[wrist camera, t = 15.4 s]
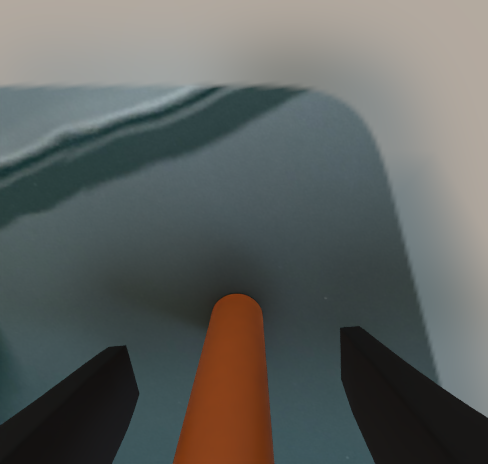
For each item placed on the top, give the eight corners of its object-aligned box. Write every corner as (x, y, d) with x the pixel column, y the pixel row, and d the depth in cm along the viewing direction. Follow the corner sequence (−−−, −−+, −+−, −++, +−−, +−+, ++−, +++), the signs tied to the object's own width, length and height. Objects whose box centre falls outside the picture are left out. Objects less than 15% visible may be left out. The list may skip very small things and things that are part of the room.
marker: (260, 289, 11) (305, 833, 2) (266, 336, 11) (317, 914, 3) (207, 294, 11) (30, 827, 2) (215, 340, 11) (101, 904, 3)
